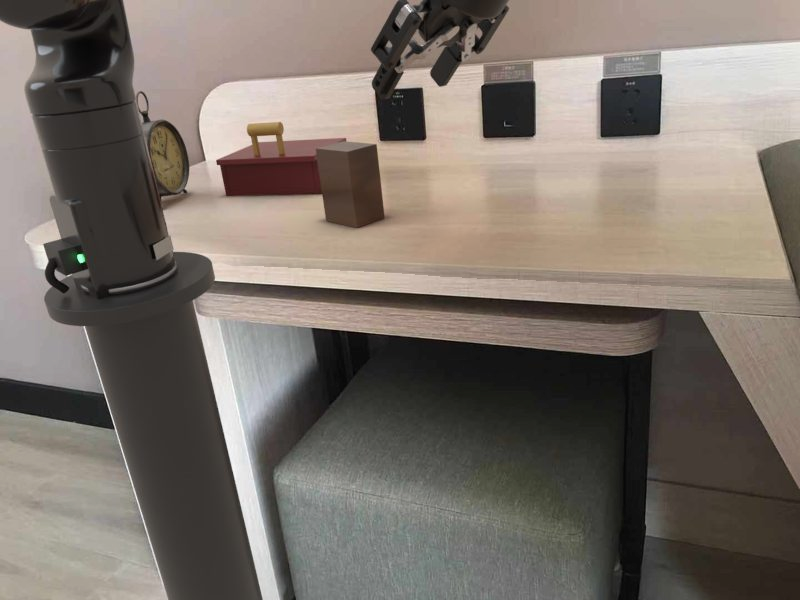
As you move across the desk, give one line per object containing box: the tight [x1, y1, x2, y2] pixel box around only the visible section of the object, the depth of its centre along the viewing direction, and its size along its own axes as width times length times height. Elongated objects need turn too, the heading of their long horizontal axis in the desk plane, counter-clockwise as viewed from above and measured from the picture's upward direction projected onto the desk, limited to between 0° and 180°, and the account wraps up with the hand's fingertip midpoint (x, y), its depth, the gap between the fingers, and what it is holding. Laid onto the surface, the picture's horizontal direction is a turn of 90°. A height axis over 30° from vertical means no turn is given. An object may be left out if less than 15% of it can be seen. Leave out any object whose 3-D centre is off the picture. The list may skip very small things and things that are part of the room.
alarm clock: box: [135, 90, 190, 202], centre depth 100 cm, size 11×5×16 cm, turn 170°
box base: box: [219, 160, 322, 197], centre depth 105 cm, size 13×16×5 cm
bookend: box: [316, 140, 386, 229], centre depth 82 cm, size 4×6×9 cm
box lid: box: [215, 121, 347, 166], centre depth 103 cm, size 13×16×5 cm
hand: (408, 86), depth 70 cm, fingers open, 8 cm apart
